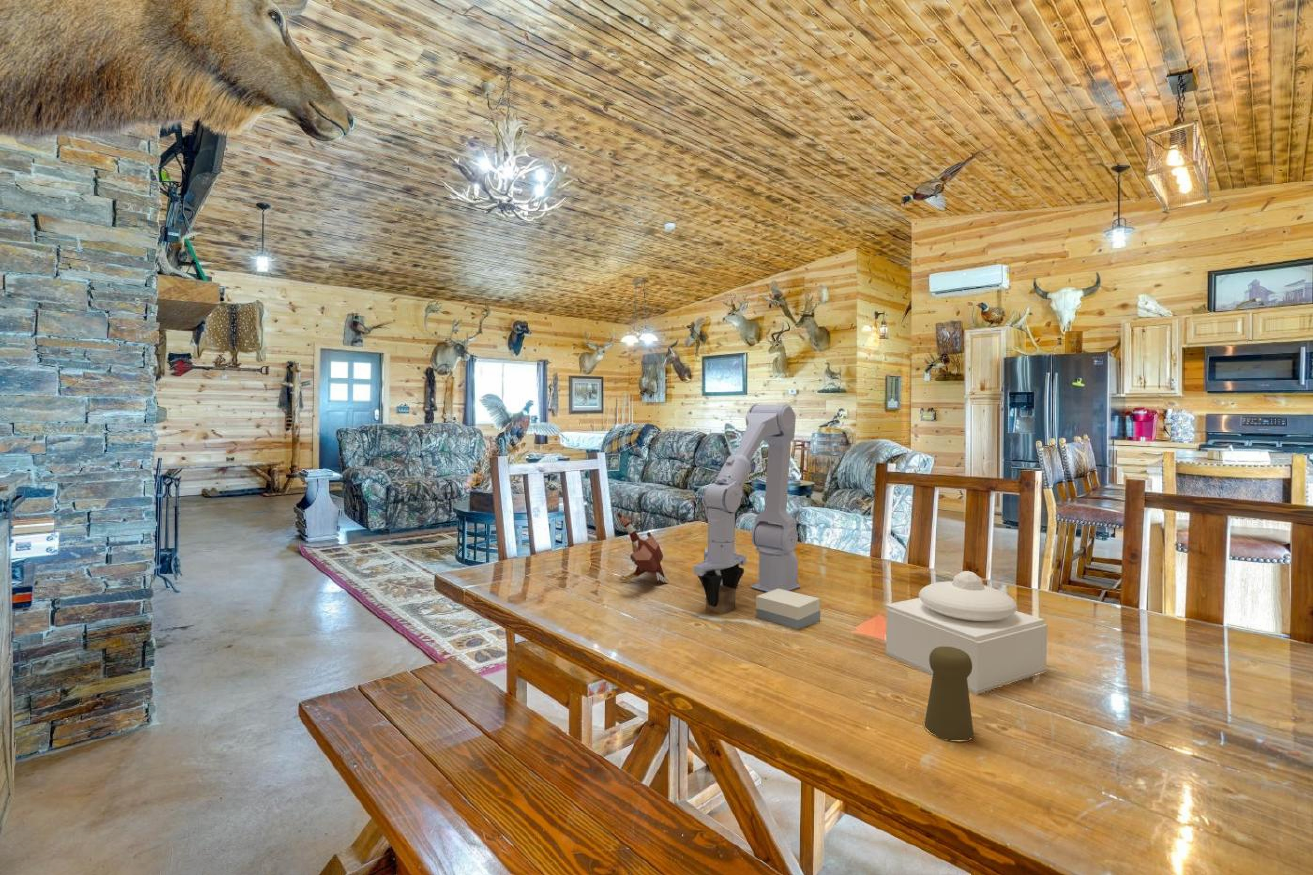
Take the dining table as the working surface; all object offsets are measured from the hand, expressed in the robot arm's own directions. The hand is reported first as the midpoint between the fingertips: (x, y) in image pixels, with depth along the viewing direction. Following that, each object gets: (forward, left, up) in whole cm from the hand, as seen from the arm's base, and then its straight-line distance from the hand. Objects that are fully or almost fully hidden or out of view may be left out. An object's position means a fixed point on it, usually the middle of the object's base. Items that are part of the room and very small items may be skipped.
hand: (720, 602), depth 133 cm
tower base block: (-6, +13, -2) cm, 15 cm away
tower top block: (-6, +13, +1) cm, 14 cm away
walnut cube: (0, 0, -1) cm, 1 cm away
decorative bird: (-1, -27, -2) cm, 27 cm away
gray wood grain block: (-13, -12, -2) cm, 18 cm away
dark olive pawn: (+14, +54, -2) cm, 56 cm away
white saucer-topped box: (-10, +46, -2) cm, 47 cm away
